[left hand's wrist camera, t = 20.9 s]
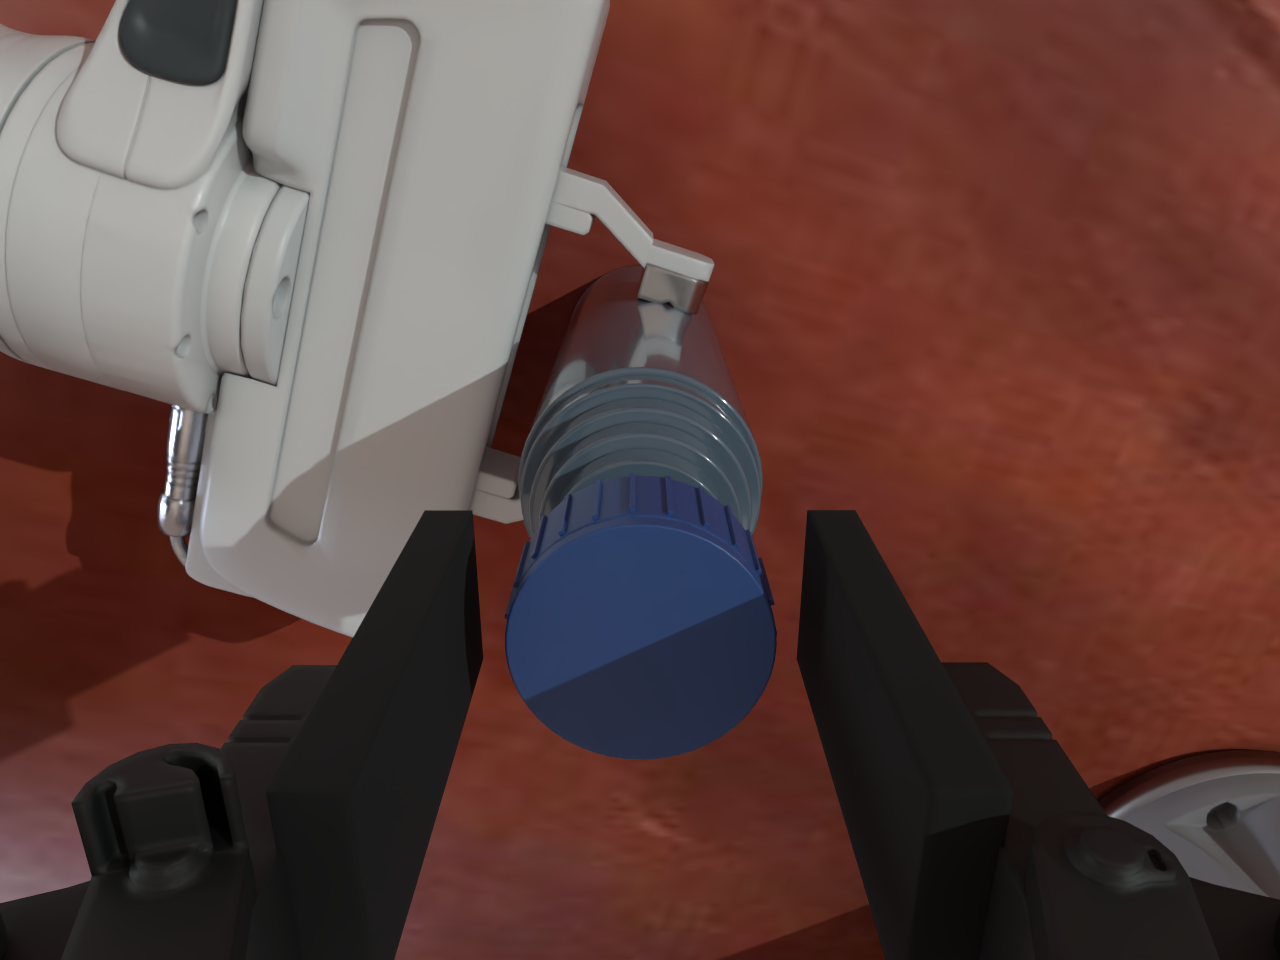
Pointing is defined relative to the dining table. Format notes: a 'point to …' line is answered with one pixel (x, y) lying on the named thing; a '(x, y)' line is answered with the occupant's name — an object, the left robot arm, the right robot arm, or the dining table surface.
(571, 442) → the bottle
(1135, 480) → the dining table surface
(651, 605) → the cap
